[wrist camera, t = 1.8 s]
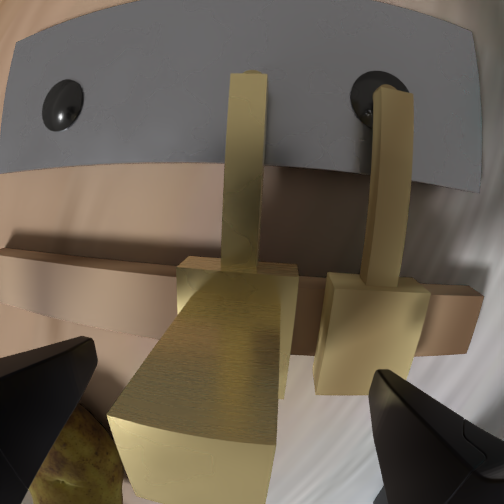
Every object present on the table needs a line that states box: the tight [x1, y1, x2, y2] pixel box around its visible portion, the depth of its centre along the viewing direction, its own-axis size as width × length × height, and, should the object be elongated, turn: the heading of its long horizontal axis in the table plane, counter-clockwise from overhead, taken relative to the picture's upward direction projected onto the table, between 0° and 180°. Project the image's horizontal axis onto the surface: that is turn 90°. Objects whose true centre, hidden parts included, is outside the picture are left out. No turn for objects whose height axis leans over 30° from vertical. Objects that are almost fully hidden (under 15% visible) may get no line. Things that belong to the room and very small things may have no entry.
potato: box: [29, 404, 124, 504], centre depth 14 cm, size 8×13×8 cm, turn 154°
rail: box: [0, 84, 484, 395], centre depth 12 cm, size 26×12×3 cm, turn 87°
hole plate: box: [0, 0, 482, 193], centre depth 11 cm, size 24×8×1 cm, turn 87°
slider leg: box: [106, 70, 299, 504], centre depth 8 cm, size 4×12×8 cm, turn 177°
